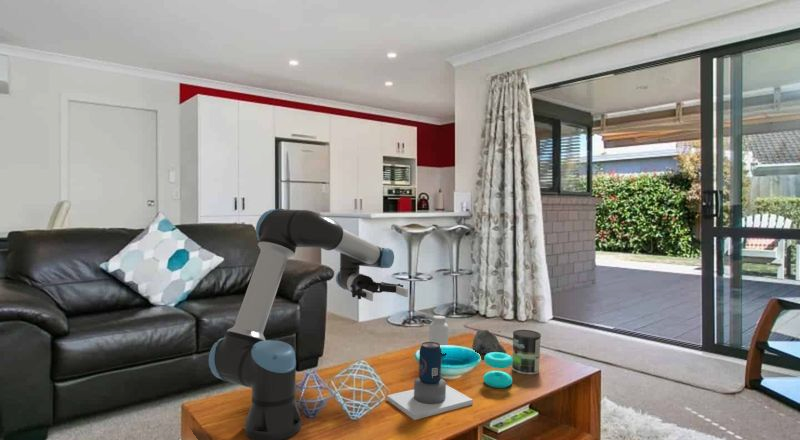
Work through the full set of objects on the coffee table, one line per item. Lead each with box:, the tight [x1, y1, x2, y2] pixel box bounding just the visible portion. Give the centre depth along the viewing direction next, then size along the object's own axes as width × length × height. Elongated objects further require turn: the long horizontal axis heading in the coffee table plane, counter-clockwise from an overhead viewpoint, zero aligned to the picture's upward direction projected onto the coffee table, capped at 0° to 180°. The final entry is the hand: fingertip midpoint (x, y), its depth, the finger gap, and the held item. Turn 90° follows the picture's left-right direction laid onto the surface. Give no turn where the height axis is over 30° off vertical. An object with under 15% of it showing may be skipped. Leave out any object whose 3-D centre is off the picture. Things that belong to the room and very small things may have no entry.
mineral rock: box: [471, 329, 508, 355], centre depth 202 cm, size 13×11×10 cm
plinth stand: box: [386, 377, 474, 421], centre depth 154 cm, size 22×16×6 cm
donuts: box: [483, 352, 513, 389], centre depth 170 cm, size 10×10×10 cm
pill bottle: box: [428, 315, 449, 346], centre depth 203 cm, size 8×8×15 cm
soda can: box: [418, 341, 442, 385], centre depth 153 cm, size 7×7×12 cm
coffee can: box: [511, 329, 542, 375], centre depth 184 cm, size 10×10×14 cm
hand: (389, 294), depth 162 cm, fingers open, 13 cm apart
